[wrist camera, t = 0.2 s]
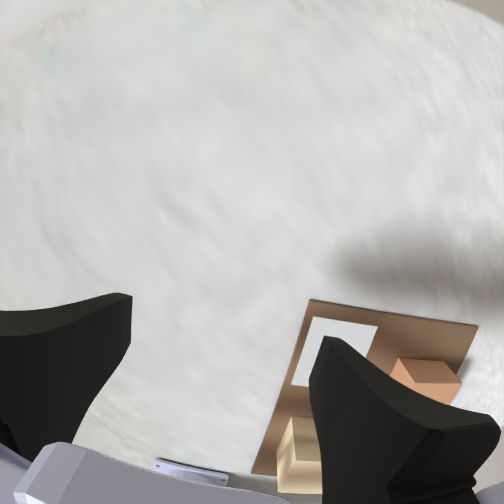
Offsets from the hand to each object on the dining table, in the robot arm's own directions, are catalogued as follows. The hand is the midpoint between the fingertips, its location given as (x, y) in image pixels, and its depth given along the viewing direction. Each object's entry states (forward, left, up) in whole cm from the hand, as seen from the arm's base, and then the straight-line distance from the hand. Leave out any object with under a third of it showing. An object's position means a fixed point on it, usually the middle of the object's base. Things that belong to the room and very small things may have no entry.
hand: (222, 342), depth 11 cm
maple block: (-14, -9, -9) cm, 19 cm away
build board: (-11, -13, -10) cm, 20 cm away
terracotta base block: (-7, -16, -9) cm, 20 cm away
